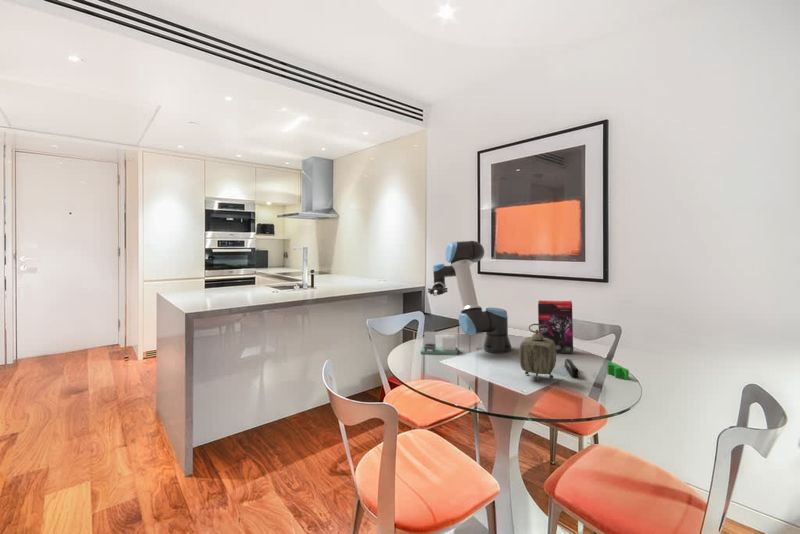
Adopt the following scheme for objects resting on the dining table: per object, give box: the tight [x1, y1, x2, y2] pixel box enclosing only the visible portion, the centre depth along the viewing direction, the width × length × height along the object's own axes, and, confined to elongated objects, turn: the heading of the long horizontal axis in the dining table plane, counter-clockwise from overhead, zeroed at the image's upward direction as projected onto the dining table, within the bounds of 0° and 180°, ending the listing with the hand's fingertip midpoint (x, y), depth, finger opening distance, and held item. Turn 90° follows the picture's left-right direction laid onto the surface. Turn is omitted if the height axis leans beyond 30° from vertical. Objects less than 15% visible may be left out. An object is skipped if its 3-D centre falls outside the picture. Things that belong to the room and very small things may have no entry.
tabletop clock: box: [518, 323, 557, 382], centre depth 167 cm, size 14×9×25 cm, turn 59°
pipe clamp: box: [606, 361, 630, 381], centre depth 168 cm, size 11×4×5 cm, turn 10°
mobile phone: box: [563, 358, 579, 379], centre depth 174 cm, size 5×3×15 cm
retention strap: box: [423, 331, 437, 351], centre depth 211 cm, size 6×4×10 cm, turn 79°
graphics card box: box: [537, 300, 574, 354], centre depth 203 cm, size 17×7×27 cm, turn 68°
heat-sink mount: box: [420, 334, 459, 355], centre depth 213 cm, size 20×8×9 cm, turn 79°
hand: (435, 294), depth 226 cm, fingers closed
